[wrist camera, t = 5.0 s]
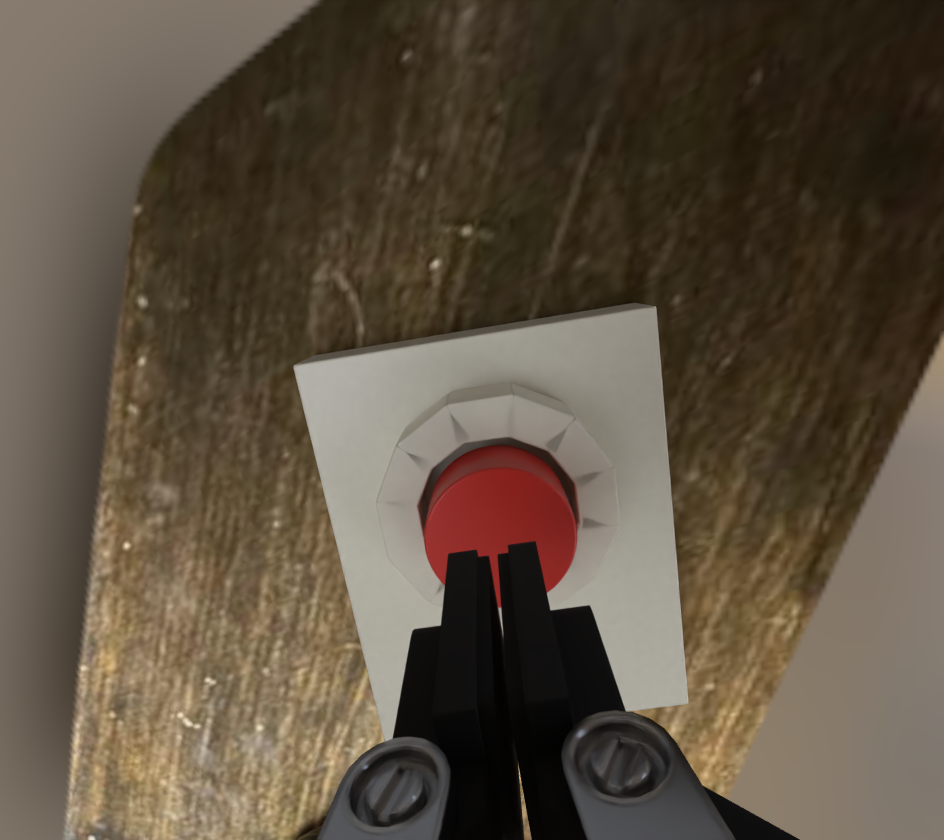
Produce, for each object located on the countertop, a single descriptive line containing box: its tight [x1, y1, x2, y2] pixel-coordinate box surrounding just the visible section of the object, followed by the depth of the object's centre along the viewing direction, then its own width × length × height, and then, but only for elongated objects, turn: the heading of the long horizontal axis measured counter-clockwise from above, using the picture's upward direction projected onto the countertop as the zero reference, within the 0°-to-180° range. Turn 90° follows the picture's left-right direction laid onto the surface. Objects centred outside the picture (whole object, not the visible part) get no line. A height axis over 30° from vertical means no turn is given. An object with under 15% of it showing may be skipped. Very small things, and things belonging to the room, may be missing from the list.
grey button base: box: [293, 303, 688, 741], centre depth 19 cm, size 14×11×4 cm
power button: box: [424, 445, 578, 608], centre depth 15 cm, size 4×4×2 cm
